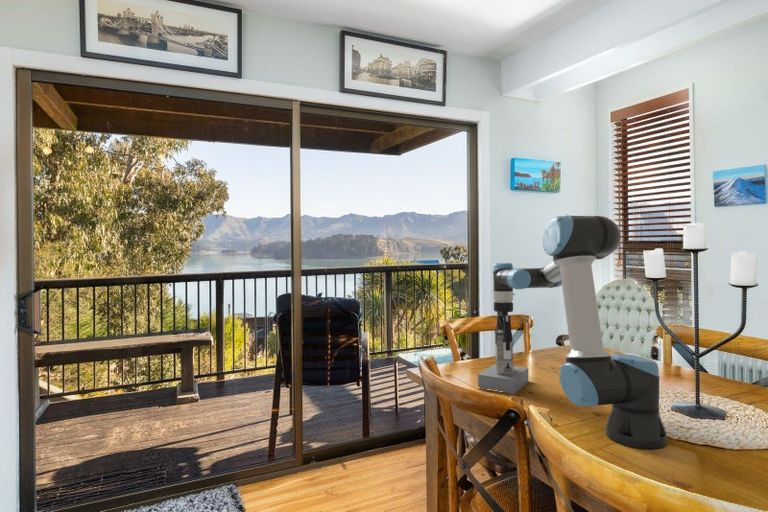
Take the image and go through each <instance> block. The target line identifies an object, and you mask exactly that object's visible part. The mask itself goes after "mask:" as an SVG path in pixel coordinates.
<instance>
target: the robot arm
mask: <svg viewBox="0 0 768 512" xmlns="http://www.w3.org/2000/svg"><path fill="white" fill-rule="evenodd" d="M621 239H622V236H621V230H620V228H619V226H618V225H617V223H615V221H613V220H612V219H610V218H608V217H606V216H602V215H570V214H569V215H564V216H563V215H561V216H558V215H557V216H554V217H553V218H551V219H550V220H549V221H548V222H547V224H546V225H545V228H544V229H543V233H542V247H543V250H544V251H545V253H546V254H547V255H548V256H551V257H552V260H551V261H550V262H548V263H547V264H546V265H544V266H543V267H537V268H536V267H535V268H532V267H531V268H525V267H524V268H523V267H522V268H514V267H513V264H512V263H511V262H495V263H494V264H493V271H492V274H493V293H492V294H493V301H494V302H493V311H494V312H496V315H497V316H496V317H497V318H496V327H495V330H503V336H504V340H503V341H502V342H504V359H511V341H512V342H513V332H512V324H511V323H512V322H511V316H510V315H509V314H508V313H511V312H514V303H513V300H514V296H515V293H514V292H513V291H514V290H524V289H544V288H545V289H548V288H550V289H553V288H560V287H562V293H563V294H562V295H563V302H564V310H565V318H566V324H567V325H566V326H567V332H568V333H567V334H568V339H569V340H568V341H569V349H570V350H569V352H568V353H567V354H566V355H565V363H564V364H562V365H561V367H560V368H559V369H560V371H559V373H558V374H559V375H558V376H559V383H560V386H561V390H562V391H563V393H564V395H565V396H566V398H567V399H568V400H569V401H570V402H571V403H572V404H574V405H576V406H579V407H592V408H593V407H597V406H605V405H606V406H607V405H611V406H612V408H611V410H610V413H609V416H608V417H607V421H606V424H605V434H606V436H607V437H608V438H609V440H612V441H613V442H616V443H619V444H621V445H623V446H626V447H631V448H637V449H644V450H655V449H661V448H664V447H666V446H667V442H668V436H667V432H666V430H665V427H664V424H663V421H662V419H661V415H660V377H661V376H660V371H659V364H658V363H657V362H656V361H655V360H653V359H650V358H646V357H644V356H639V355H632V354H628V353H613V354H612V355H611V354H610V353H609V352H608V351H607V350H605V348H604V343H603V335H602V334H603V333H602V328H601V320H600V315H599V314H600V313H599V309H598V308H599V307H598V301H597V295H596V294H597V293H596V287H595V281H594V276H593V275H594V274H593V267H592V264H593V263H594V262H595V261H596V260H602V259H605V258H607V257H608V256H609V255H612V254H613V253H614V252H615V251H616V250H617V249H618V247H619V245H620V243H621Z"/></svg>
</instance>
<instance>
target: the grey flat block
mask: <svg viewBox="0 0 768 512" xmlns="http://www.w3.org/2000/svg"><path fill="white" fill-rule="evenodd" d="M477 382H478V383H477V388H478V387H480V388H484V389H492V390H498V391H503V392H507V393H510V394H509V395H513V394H514V395H516V394H517V393H518V392H519V391H518V390H521V389H522V388H523V387H524V386H525V385H526V384H527V383H529V367H523V366H516V365H513V374H497V370H496V363H494V364H492V365H491V366H489V367H488V368H486V369H485V370H483V371H482V372H480V373H479V374H477ZM507 393H506V394H507Z"/></svg>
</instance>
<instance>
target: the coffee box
mask: <svg viewBox="0 0 768 512" xmlns="http://www.w3.org/2000/svg"><path fill="white" fill-rule="evenodd" d="M503 340H504V336H503V330H496V329H494V353H495V354H494V355H495V357H494V358H495V364H496V370H497V374H513V366H514V350H513V349H514V348H513V346H514V345H513V344H514V343H513V340H512V341H511V359H504V342H502V341H503Z"/></svg>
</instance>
